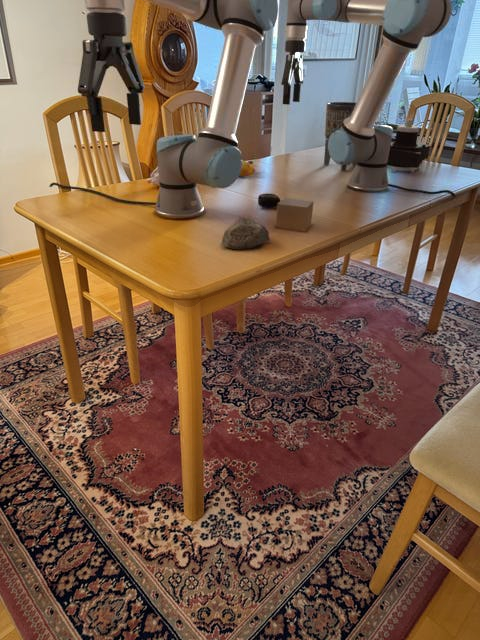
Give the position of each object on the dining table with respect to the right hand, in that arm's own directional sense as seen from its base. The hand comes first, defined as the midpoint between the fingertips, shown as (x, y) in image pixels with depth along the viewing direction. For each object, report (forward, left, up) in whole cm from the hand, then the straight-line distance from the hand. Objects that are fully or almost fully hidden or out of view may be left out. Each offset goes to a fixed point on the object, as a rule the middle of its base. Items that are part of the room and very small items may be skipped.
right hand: (291, 103), depth 179 cm
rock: (+12, +83, -28) cm, 89 cm away
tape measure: (+6, +48, -28) cm, 56 cm away
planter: (-26, -22, -28) cm, 44 cm away
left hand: (+41, +92, +1) cm, 101 cm away
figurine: (+47, +25, -28) cm, 61 cm away
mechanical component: (-56, -24, -28) cm, 67 cm away
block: (-1, +66, -28) cm, 72 cm away
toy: (+18, +1, -28) cm, 34 cm away
